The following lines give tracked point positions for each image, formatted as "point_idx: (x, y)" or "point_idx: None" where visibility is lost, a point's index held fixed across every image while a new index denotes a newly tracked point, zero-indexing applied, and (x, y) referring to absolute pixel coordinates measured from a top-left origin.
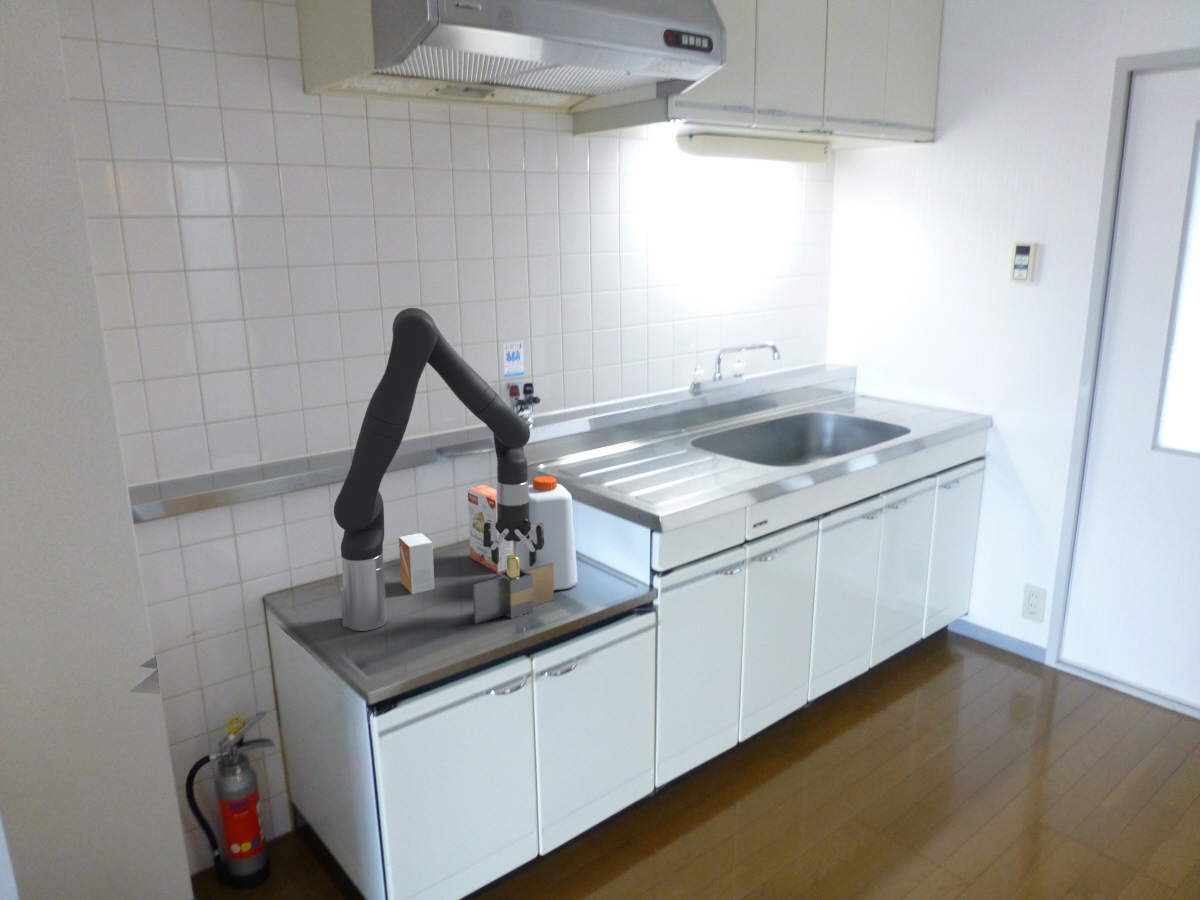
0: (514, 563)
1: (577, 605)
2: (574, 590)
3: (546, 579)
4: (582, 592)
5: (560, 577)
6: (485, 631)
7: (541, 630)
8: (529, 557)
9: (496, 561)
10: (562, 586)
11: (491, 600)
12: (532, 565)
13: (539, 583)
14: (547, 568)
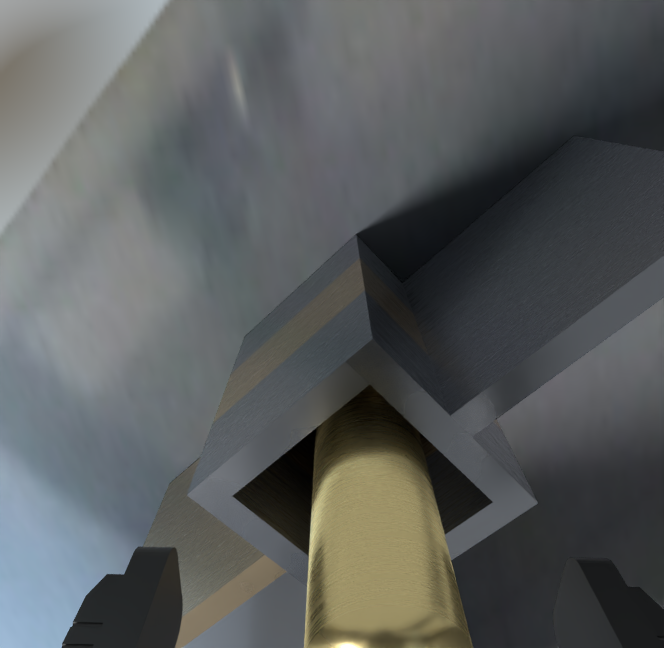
0: (353, 557)
1: (23, 438)
2: None
3: None
4: (51, 570)
5: None
6: (498, 22)
7: (122, 85)
8: (131, 645)
9: (593, 581)
10: None
11: (514, 253)
12: (139, 557)
13: (203, 520)
14: None
